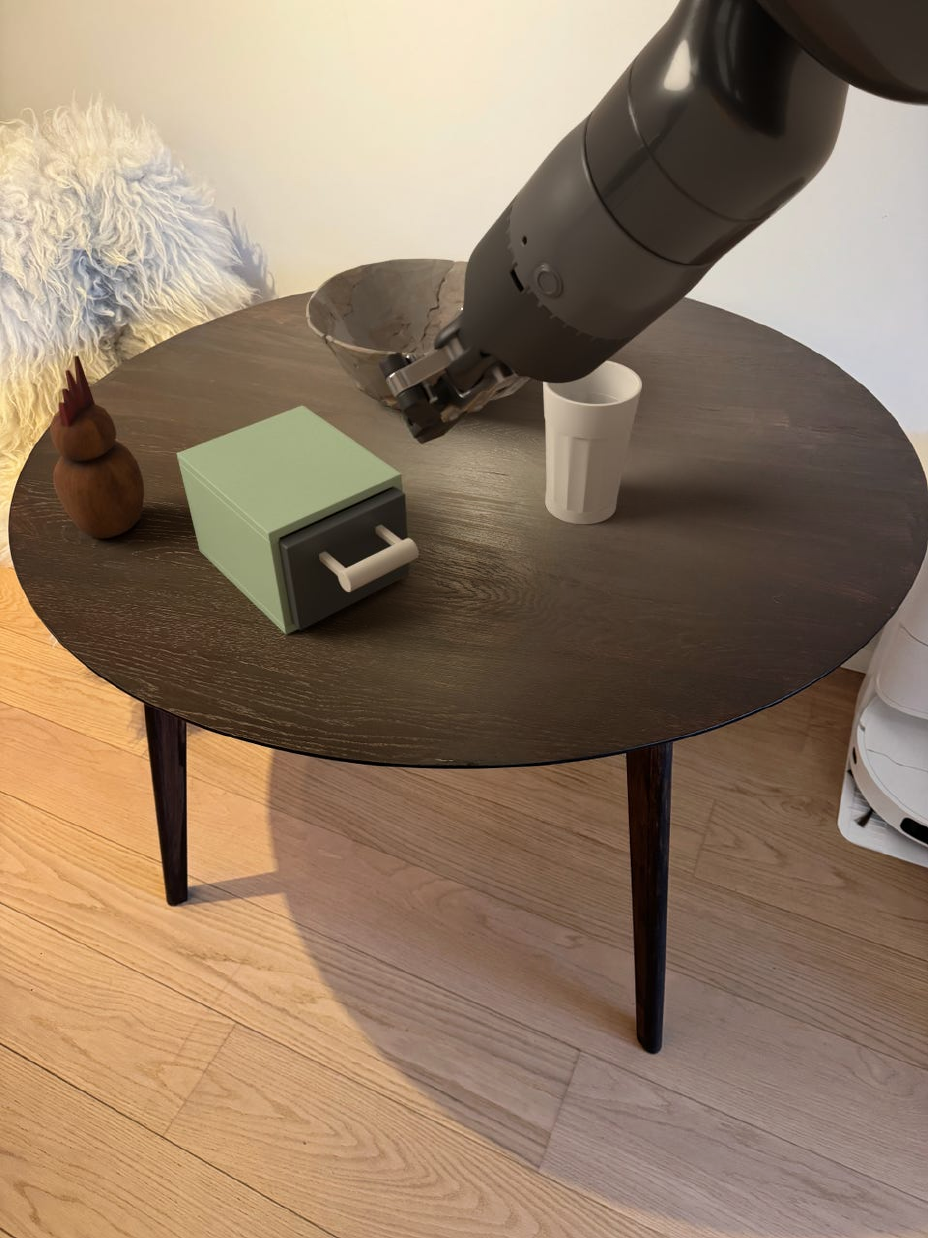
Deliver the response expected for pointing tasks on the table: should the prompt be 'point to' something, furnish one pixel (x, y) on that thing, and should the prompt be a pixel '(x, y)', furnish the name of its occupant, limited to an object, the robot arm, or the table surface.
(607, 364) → the cup
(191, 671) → the table surface
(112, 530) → the wooden figurine
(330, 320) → the ceramic bowl
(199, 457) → the green drawer cabinet
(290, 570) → the fryer drawer
